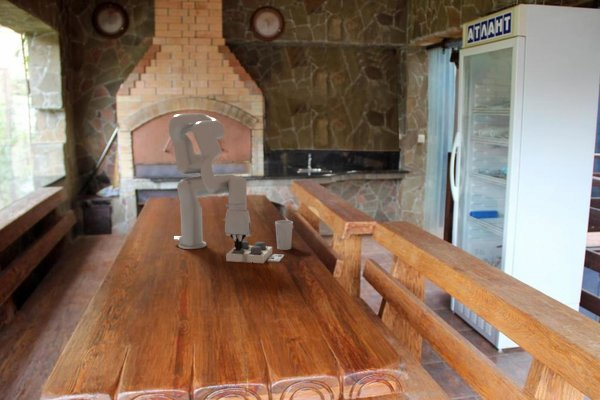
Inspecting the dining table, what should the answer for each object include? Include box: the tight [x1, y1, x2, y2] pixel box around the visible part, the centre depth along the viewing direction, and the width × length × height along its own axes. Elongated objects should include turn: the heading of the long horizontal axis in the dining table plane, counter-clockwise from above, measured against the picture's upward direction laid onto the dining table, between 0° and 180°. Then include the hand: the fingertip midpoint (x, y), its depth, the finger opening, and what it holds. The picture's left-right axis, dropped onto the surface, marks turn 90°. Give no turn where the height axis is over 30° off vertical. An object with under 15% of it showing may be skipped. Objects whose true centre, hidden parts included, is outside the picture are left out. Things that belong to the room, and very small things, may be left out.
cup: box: [274, 219, 294, 251], centre depth 257 cm, size 8×8×12 cm
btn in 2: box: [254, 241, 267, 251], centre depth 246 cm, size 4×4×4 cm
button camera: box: [251, 245, 261, 255], centre depth 239 cm, size 4×4×4 cm
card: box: [267, 253, 285, 263], centre depth 241 cm, size 5×9×1 cm, turn 169°
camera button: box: [232, 248, 244, 254], centre depth 241 cm, size 4×4×4 cm
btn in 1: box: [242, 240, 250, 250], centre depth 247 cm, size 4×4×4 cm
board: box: [225, 245, 273, 264], centre depth 244 cm, size 16×15×3 cm
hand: (238, 249), depth 240 cm, fingers closed
